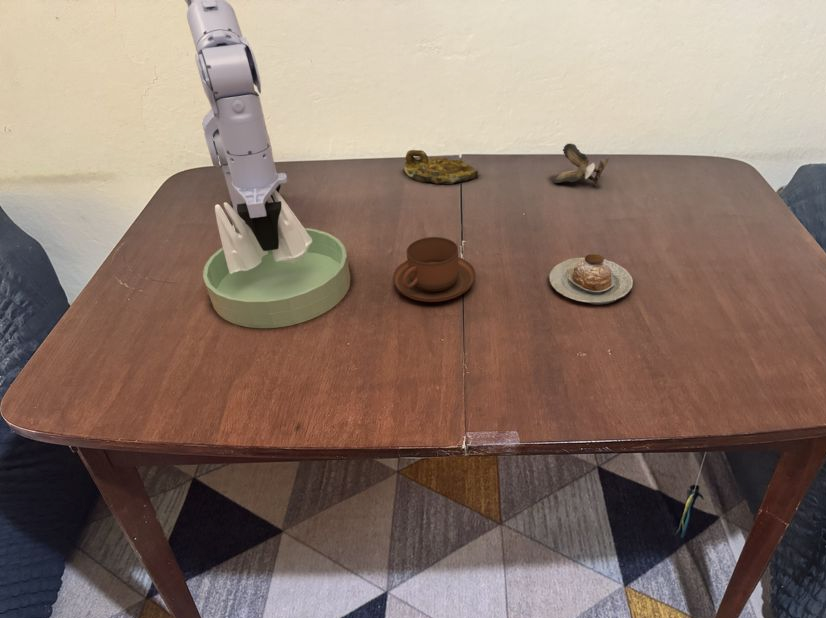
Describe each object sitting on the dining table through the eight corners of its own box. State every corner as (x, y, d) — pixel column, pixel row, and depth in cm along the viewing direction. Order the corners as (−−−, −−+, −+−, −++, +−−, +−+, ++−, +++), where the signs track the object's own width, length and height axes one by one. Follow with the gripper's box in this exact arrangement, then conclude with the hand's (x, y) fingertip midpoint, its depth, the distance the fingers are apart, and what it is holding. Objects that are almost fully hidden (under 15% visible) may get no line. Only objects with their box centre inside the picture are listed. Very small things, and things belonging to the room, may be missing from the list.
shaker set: (315, 250, 95) (299, 180, 88) (314, 265, 91) (298, 193, 84) (232, 259, 94) (210, 189, 87) (228, 274, 90) (205, 202, 83)
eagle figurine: (607, 169, 122) (563, 154, 124) (611, 147, 115) (564, 131, 117) (591, 202, 120) (547, 186, 122) (594, 182, 113) (547, 166, 115)
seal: (482, 172, 127) (410, 166, 130) (483, 148, 125) (409, 142, 127) (473, 187, 120) (396, 181, 122) (473, 162, 117) (395, 156, 120)
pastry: (585, 318, 87) (588, 290, 84) (532, 278, 95) (533, 252, 92) (649, 291, 92) (654, 263, 89) (594, 255, 100) (597, 229, 97)
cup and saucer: (458, 316, 89) (456, 279, 85) (380, 301, 92) (375, 264, 88) (486, 271, 97) (486, 236, 93) (414, 259, 101) (411, 224, 97)
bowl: (216, 262, 101) (208, 237, 98) (343, 244, 105) (339, 219, 102) (207, 339, 86) (197, 312, 83) (357, 315, 89) (353, 288, 87)
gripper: (280, 165, 77) (301, 262, 86) (278, 123, 88) (297, 213, 96) (219, 172, 76) (247, 270, 84) (225, 129, 87) (249, 219, 95)
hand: (270, 240), depth 90 cm, fingers closed on shaker set, 4 cm apart
